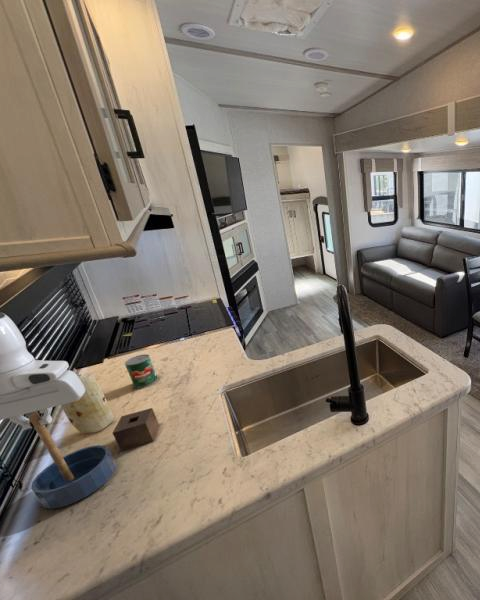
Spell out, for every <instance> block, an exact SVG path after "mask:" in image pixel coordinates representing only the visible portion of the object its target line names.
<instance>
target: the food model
mask: <svg viewBox="0 0 480 600" xmlns="http://www.w3.org/2000/svg"><path fill="white" fill-rule="evenodd" d="M76 375H77V376H78V377H79V379H80V380H81V382H82V384H83V385H84V387H85V393H84V394H83V396H82V397H81V398H80V399H79V400H78V401H75V402H71V403H67V404H63V405H60V407H61V408H62V411H63V412H64V414H65V416H66V417H67V419H68V421H69V423H70V424H71V425H72V426H73V427H74V429H76V430H77V431H78V432H79V433H81V434H88V433H93V434H95V433H98V432H101V431H103V430H104V429H105V428H106V427H108V426H109V425H111V423H113V422H114V421H115V416H114V414H113V413H112V409H111V407H110V404H109V402H108V400H107V398H106V396H105V394H104V391H103V389H102V388H101V386H100V385H99V383H98V382H97V379H96V378H95V376H94V374H93V373H89V372H87V373H86V372H85V373H80V374H76Z"/></svg>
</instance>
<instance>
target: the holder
mask: <svg viewBox="0 0 480 600" xmlns="http://www.w3.org/2000/svg"><path fill="white" fill-rule="evenodd" d="M159 427H160V423H159V421H158V419H157V416H156V413H155V411H154V409H153V407H150V408H147V409H143V410H140V411H137V412H133V413H128V414H126V415H121V416H120V418H119V420H118V422H117V424H116V425H115V427H114V430H112V436H113V437H114V439H115V441H116V444H117V446H118V447H119V449H120V452H123V451H126V450H129V449H132V448H136V447H139V446H141V445H146V444H148V443H151V442H154V440H155V437H156V435H157V432H158V430H159Z"/></svg>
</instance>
